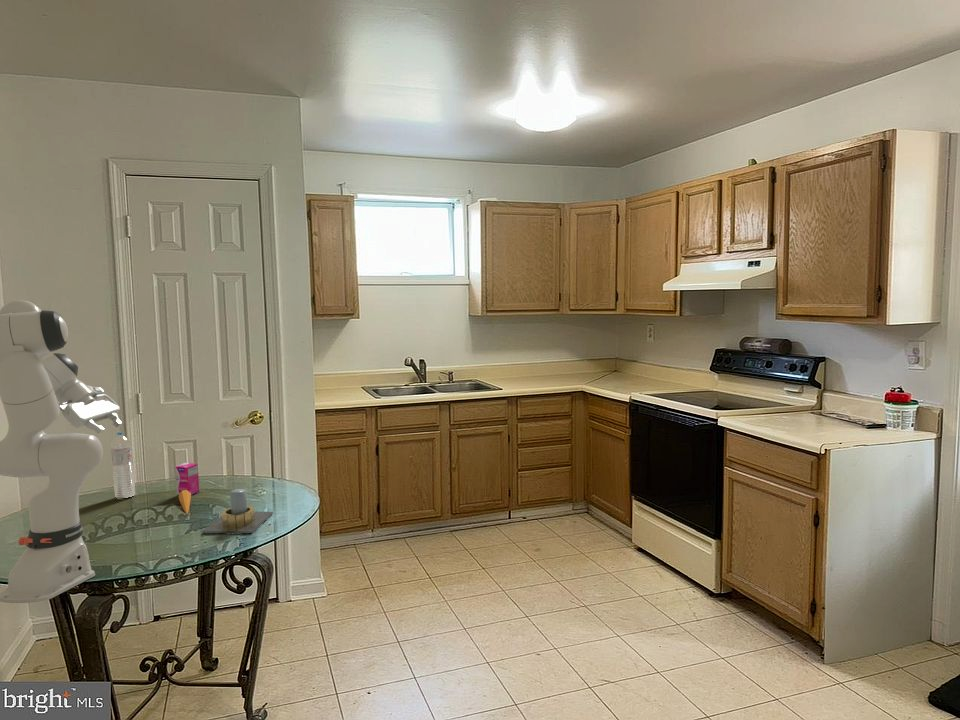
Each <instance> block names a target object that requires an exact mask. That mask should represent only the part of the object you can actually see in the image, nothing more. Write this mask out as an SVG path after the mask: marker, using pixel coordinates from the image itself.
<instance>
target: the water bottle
mask: <svg viewBox="0 0 960 720" xmlns="http://www.w3.org/2000/svg"><path fill="white" fill-rule="evenodd" d="M116 434H117V435H116V437H114V438H113V440H112V441H111V443H110V450H111V451H110V452H111V461H112V464H111V467H112V478H113V479H112V480H113V488H114V498H115V497H116V498H128V497H132V496H134V495H135V496H136V486H135V471H134V462H133V454H132V452H133V451H132V441H131V440H130V439H129V438H128V437H126V436H124V432H123V431H117V432H116ZM135 496H134V497H135ZM116 498H115V499H116ZM132 498H133V497H132Z"/></svg>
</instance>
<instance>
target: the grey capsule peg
mask: <svg viewBox="0 0 960 720" xmlns="http://www.w3.org/2000/svg"><path fill="white" fill-rule="evenodd" d="M247 493H248V492H247V489H246V488H237V489H233V490H230V491H229V496H230V497H229V499H230V508H231V514H242V513H245V512H248V508H247V506H248V496H247V495H248V494H247Z"/></svg>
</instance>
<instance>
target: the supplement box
mask: <svg viewBox="0 0 960 720" xmlns="http://www.w3.org/2000/svg"><path fill="white" fill-rule="evenodd" d="M174 471H175V484H176V495H179V493H180V492H181V491H183V490H187V491H189V492H190V493H191V495H192V496H194V495H196V494H195V493H197V492H199V493H200V482H199V471H198V463H194V462H183V463H181V464H179V465H175V466H174ZM193 494H194V495H193ZM197 494H198V493H197Z"/></svg>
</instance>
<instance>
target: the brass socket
mask: <svg viewBox="0 0 960 720" xmlns="http://www.w3.org/2000/svg"><path fill="white" fill-rule="evenodd" d="M247 508H248V512H245V513H242V514H231V507H228V508H225V509H224V510H222V511H221V516H222V523H223V525H225V526H241V525H246V524H248V523H251V522H253V521H254V520H255V512H256V511H255V508H254V506H250V505H247Z"/></svg>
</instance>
